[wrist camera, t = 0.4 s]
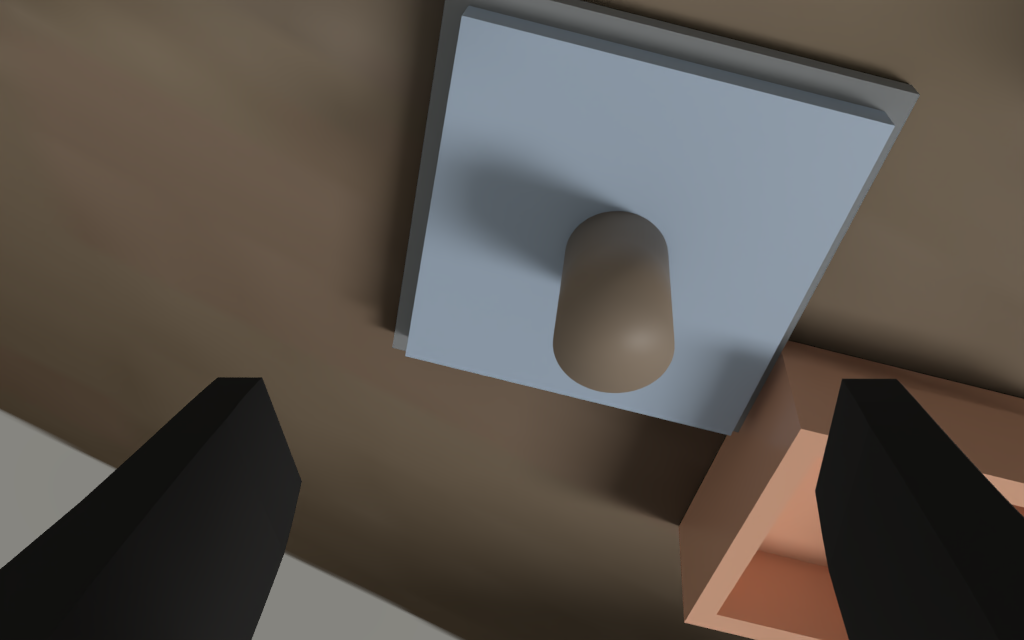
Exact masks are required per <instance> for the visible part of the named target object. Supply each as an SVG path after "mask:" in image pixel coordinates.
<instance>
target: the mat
mask: <svg viewBox="0 0 1024 640" xmlns="http://www.w3.org/2000/svg"><path fill="white" fill-rule="evenodd" d="M468 6H473V7H477V8H481V9H485V10H488V11H492V12H496V13H500V14H504V15H508V16H512V17H516V18H520V19H524V20H528V21H532V22H536V23H539V24H543V25H547V26H551V27H555V28H559V29H563V30H567V31H571V32H575V33H579V34H583V35H587V36H591V37H594V38H598V39H602V40H606V41H610V42H614V43H618V44H622V45H626V46H630V47H634V48H638V49H642V50H645V51H649V52H653V53H657V54H661V55H665V56H669V57H673V58H677V59H681V60H685V61H689V62H693V63H696V64H700V65H704V66H708V67H712V68H716V69H720V70H724V71H728V72H732V73H736V74H740V75H744V76H747V77H751V78H755V79H759V80H763V81H767V82H771V83H775V84H779V85H783V86H787V87H791V88H795V89H798V90H802V91H806V92H810V93H814V94H818V95H822V96H826V97H830V98H834V99H838V100H842V101H846V102H850V103H853V104H857V105H861V106H865V107H869V108H873V109H877V110H881V111H885V112H886V114H887V115H888V117H889V118H890V119H891V121H892V122H893V123H894V125H895V127H894V129H893V131H892V133H891V135H890V136H889V138H888V140H887V142H886V144H885V146H884V148H883V150H882V152H881V153H880V155H879V157H878V159H877V161H876V163H875V165H874V167H873V168H872V170H871V172H870V174H869V176H868V178H867V180H866V182H865V184H864V185H863V187H862V189H861V191H860V193H859V195H858V197H857V199H856V200H855V202H854V204H853V206H852V208H851V210H850V212H849V214H848V216H847V217H846V219H845V221H844V223H843V225H842V227H841V229H840V231H839V232H838V234H837V236H836V238H835V240H834V242H833V244H832V246H831V248H830V249H829V251H828V253H827V255H826V257H825V259H824V261H823V263H822V264H821V266H820V268H819V270H818V272H817V274H816V276H815V278H814V280H813V281H812V283H811V285H810V287H809V289H808V291H807V293H806V295H805V296H804V298H803V300H802V302H801V304H800V306H799V308H798V310H797V312H796V313H795V315H794V317H793V319H792V321H791V323H790V325H789V327H788V328H787V330H786V332H785V334H784V336H783V338H782V340H781V342H780V344H779V345H778V347H777V349H776V351H775V353H774V355H773V357H772V359H771V360H770V362H769V364H768V366H767V368H766V370H765V372H764V374H763V376H762V377H761V379H760V381H759V383H758V385H757V387H756V389H755V391H754V392H753V394H752V396H751V398H750V400H749V402H748V404H747V406H746V408H745V409H744V411H743V413H742V415H741V417H740V419H739V421H738V423H737V424H736V426H735V428H734V430H733V431H734V432H739V430H740V428H741V427H742V425H743V423H744V421H745V419H746V417H747V415H748V414H749V412H750V410H751V408H752V406H753V404H754V402H755V401H756V399H757V397H758V395H759V393H760V391H761V389H762V387H763V386H764V384H765V382H766V380H767V378H768V376H769V374H770V373H771V371H772V369H773V367H774V365H775V363H776V361H777V360H778V358H779V356H780V354H781V352H782V350H783V348H784V347H785V345H786V343H787V341H788V339H789V337H790V335H791V334H792V332H793V330H794V328H795V326H796V324H797V322H798V321H799V319H800V317H801V315H802V313H803V311H804V309H805V308H806V306H807V304H808V302H809V300H810V298H811V296H812V294H813V293H814V291H815V289H816V287H817V285H818V283H819V281H820V280H821V278H822V276H823V274H824V272H825V270H826V268H827V267H828V265H829V263H830V261H831V259H832V257H833V255H834V254H835V252H836V250H837V248H838V246H839V244H840V242H841V241H842V239H843V237H844V235H845V233H846V231H847V229H848V228H849V226H850V224H851V222H852V220H853V218H854V216H855V215H856V213H857V211H858V209H859V207H860V205H861V203H862V202H863V200H864V198H865V196H866V194H867V192H868V190H869V188H870V187H871V185H872V183H873V181H874V179H875V177H876V175H877V174H878V172H879V170H880V168H881V166H882V164H883V162H884V161H885V159H886V157H887V155H888V153H889V151H890V149H891V148H892V146H893V144H894V142H895V140H896V138H897V136H898V135H899V133H900V131H901V129H902V127H903V125H904V123H905V122H906V120H907V118H908V116H909V114H910V112H911V110H912V109H913V107H914V105H915V103H916V101H917V99H918V97H919V95H920V94H919V93H918V92H917V91H916V90H915V88H914V87H913V86H912V85H909V84H906V83H902V82H898V81H894V80H890V79H886V78H882V77H878V76H874V75H870V74H866V73H863V72H859V71H855V70H851V69H847V68H843V67H839V66H835V65H831V64H827V63H823V62H820V61H816V60H812V59H808V58H804V57H800V56H796V55H792V54H788V53H784V52H780V51H777V50H773V49H769V48H765V47H761V46H757V45H753V44H749V43H745V42H741V41H737V40H733V39H730V38H726V37H722V36H718V35H714V34H710V33H706V32H702V31H698V30H694V29H690V28H687V27H683V26H679V25H675V24H671V23H667V22H663V21H659V20H655V19H651V18H647V17H644V16H640V15H636V14H632V13H628V12H624V11H620V10H616V9H612V8H608V7H604V6H601V5H597V4H593V3H589V2H585V1H581V0H445V4H444V11H443V18H442V24H441V31H440V37H439V44H438V51H437V57H436V64H435V70H434V77H433V83H432V90H431V97H430V103H429V110H428V116H427V123H426V130H425V136H424V143H423V149H422V156H421V163H420V169H419V176H418V182H417V189H416V196H415V202H414V209H413V215H412V222H411V229H410V235H409V242H408V248H407V255H406V262H405V268H404V275H403V281H402V288H401V295H400V301H399V308H398V314H397V321H396V328H395V334H394V341H393V347H392V348H396V349H400V350H404V351H406V349H407V343H408V337H409V331H410V325H411V319H412V313H413V307H414V301H415V295H416V289H417V283H418V277H419V271H420V265H421V259H422V253H423V247H424V241H425V235H426V229H427V223H428V217H429V211H430V204H431V198H432V192H433V186H434V180H435V174H436V168H437V162H438V156H439V150H440V144H441V138H442V132H443V126H444V120H445V114H446V108H447V102H448V96H449V90H450V84H451V78H452V72H453V66H454V60H455V54H456V48H457V42H458V36H459V29H460V23H461V17H462V15H463V13H464V12H465V10H466V9H467V7H468Z"/></svg>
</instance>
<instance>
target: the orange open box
mask: <svg viewBox="0 0 1024 640" xmlns="http://www.w3.org/2000/svg"><path fill="white" fill-rule="evenodd" d="M842 379H897V380H898V381H899V382H900V383H901V384H902V385H903V386H904V387H905V388H906V389H907V390H908V391H909V393H910V394H911V395H912V396H913V397H914V398H915V399H916V400H917V401H918V403H919V404H920V405H921V406H922V407H923V408H924V409H925V410H926V412H927V413H928V414H929V415H930V416H931V417H932V418H933V419H934V420H935V422H936V423H937V424H938V425H939V426H940V427H941V428H942V429H943V431H944V432H945V433H946V434H947V435H948V436H949V437H950V438H951V440H952V441H953V442H954V443H955V444H956V445H957V446H958V447H959V448H960V449H961V451H962V452H963V453H964V454H965V455H966V456H967V457H968V458H969V459H970V460H971V462H972V463H973V464H974V465H975V466H976V467H977V468H978V469H979V470H980V471H981V473H982V474H983V475H984V476H985V477H986V478H987V479H988V480H989V481H990V482H991V483H992V484H993V485H994V486H995V488H996V489H997V490H998V491H999V492H1000V493H1001V494H1002V495H1003V496H1004V497H1005V498H1006V499H1007V500H1008V501H1009V502H1010V503H1011V504H1012V505H1013V506H1014V507H1015V508H1016V509H1017V510H1018V511H1019V512H1020V514H1021V515H1022V516H1023V517H1024V399H1022V398H1018V397H1014V396H1010V395H1006V394H1002V393H998V392H994V391H990V390H986V389H982V388H978V387H974V386H970V385H966V384H962V383H958V382H954V381H950V380H946V379H942V378H937V377H933V376H929V375H925V374H921V373H917V372H913V371H909V370H905V369H901V368H897V367H893V366H889V365H885V364H881V363H877V362H873V361H869V360H865V359H861V358H857V357H853V356H849V355H845V354H841V353H837V352H833V351H829V350H825V349H821V348H817V347H813V346H809V345H804V344H800V343H796V342H792V341H787V343H786V345H785V347H784V348H783V350H782V352H781V354H780V356H779V358H778V360H777V361H776V363H775V365H774V367H773V369H772V371H771V373H770V374H769V376H768V378H767V380H766V382H765V384H764V386H763V387H762V389H761V391H760V393H759V395H758V397H757V399H756V401H755V402H754V404H753V406H752V408H751V410H750V412H749V414H748V415H747V417H746V419H745V421H744V423H743V425H742V427H741V428H740V430H739V432H734V431H733V432H732V434H731V436H730V435H727V436H726V438H725V440H724V442H723V444H722V446H721V448H720V449H719V451H718V453H717V455H716V457H715V459H714V461H713V463H712V465H711V467H710V468H709V470H708V472H707V474H706V476H705V478H704V480H703V482H702V484H701V486H700V487H699V489H698V491H697V493H696V495H695V497H694V499H693V501H692V503H691V504H690V506H689V508H688V510H687V512H686V514H685V516H684V518H683V520H682V522H681V523H680V525H679V542H680V559H681V576H682V593H683V610H684V623H689V624H693V625H697V626H701V627H705V628H709V629H714V630H718V631H722V632H726V633H730V634H734V635H739V636H743V637H747V638H751V639H755V640H849V639H848V635H847V632H846V629H845V625H844V622H843V618H842V615H841V612H840V608H839V605H838V601H837V598H836V595H835V591H834V588H833V584H832V581H831V577H830V574H829V570H828V565H827V559H826V554H825V549H824V543H823V538H822V532H821V526H820V519H819V513H818V507H817V501H816V494H815V489H816V485H817V481H818V476H819V472H820V468H821V464H822V460H823V456H824V451H825V447H826V443H827V439H828V435H829V431H830V427H831V422H832V418H833V414H834V410H835V406H836V402H837V398H838V393H839V389H840V385H841V381H842Z"/></svg>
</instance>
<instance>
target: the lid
mask: <svg viewBox="0 0 1024 640" xmlns="http://www.w3.org/2000/svg"><path fill="white" fill-rule="evenodd" d="M894 127H895V125H894V123H893V122H892V121H891V119H890V118H889V117H888V115H887V114H886V112H885V111H881V110H877V109H873V108H869V107H865V106H861V105H857V104H853V103H850V102H846V101H842V100H838V99H834V98H830V97H826V96H822V95H818V94H814V93H810V92H806V91H802V90H798V89H795V88H791V87H787V86H783V85H779V84H775V83H771V82H767V81H763V80H759V79H755V78H751V77H747V76H744V75H740V74H736V73H732V72H728V71H724V70H720V69H716V68H712V67H708V66H704V65H700V64H696V63H693V62H689V61H685V60H681V59H677V58H673V57H669V56H665V55H661V54H657V53H653V52H649V51H645V50H642V49H638V48H634V47H630V46H626V45H622V44H618V43H614V42H610V41H606V40H602V39H598V38H594V37H591V36H587V35H583V34H579V33H575V32H571V31H567V30H563V29H559V28H555V27H551V26H547V25H543V24H539V23H536V22H532V21H528V20H524V19H520V18H516V17H512V16H508V15H504V14H500V13H496V12H492V11H488V10H485V9H481V8H477V7H473V6H468V7H467V9H466V10H465V12H464V13H463V15H462V17H461V23H460V29H459V36H458V42H457V48H456V54H455V60H454V66H453V72H452V78H451V84H450V90H449V96H448V102H447V108H446V114H445V120H444V126H443V132H442V138H441V144H440V150H439V156H438V162H437V168H436V174H435V180H434V186H433V192H432V198H431V204H430V211H429V217H428V223H427V229H426V235H425V241H424V247H423V253H422V259H421V265H420V271H419V277H418V283H417V289H416V295H415V301H414V307H413V313H412V319H411V325H410V331H409V337H408V343H407V349H406V355H405V356H407V357H412V358H416V359H420V360H424V361H428V362H432V363H436V364H440V365H444V366H448V367H452V368H456V369H460V370H465V371H469V372H473V373H477V374H481V375H485V376H489V377H493V378H497V379H501V380H505V381H509V382H513V383H518V384H522V385H526V386H530V387H534V388H538V389H542V390H546V391H550V392H554V393H558V394H562V395H566V396H571V397H575V398H579V399H583V400H587V401H591V402H595V403H599V404H603V405H607V406H611V407H615V408H620V409H624V410H628V411H632V412H636V413H640V414H644V415H648V416H652V417H656V418H660V419H664V420H668V421H673V422H677V423H681V424H685V425H689V426H693V427H697V428H701V429H705V430H709V431H713V432H717V433H721V434H726V435H730V436H731V434H732V432H733V430H734V428H735V426H736V424H737V423H738V421H739V419H740V417H741V415H742V413H743V411H744V409H745V408H746V406H747V404H748V402H749V400H750V398H751V396H752V394H753V392H754V391H755V389H756V387H757V385H758V383H759V381H760V379H761V377H762V376H763V374H764V372H765V370H766V368H767V366H768V364H769V362H770V360H771V359H772V357H773V355H774V353H775V351H776V349H777V347H778V345H779V344H780V342H781V340H782V338H783V336H784V334H785V332H786V330H787V328H788V327H789V325H790V323H791V321H792V319H793V317H794V315H795V313H796V312H797V310H798V308H799V306H800V304H801V302H802V300H803V298H804V296H805V295H806V293H807V291H808V289H809V287H810V285H811V283H812V281H813V280H814V278H815V276H816V274H817V272H818V270H819V268H820V266H821V264H822V263H823V261H824V259H825V257H826V255H827V253H828V251H829V249H830V248H831V246H832V244H833V242H834V240H835V238H836V236H837V234H838V232H839V231H840V229H841V227H842V225H843V223H844V221H845V219H846V217H847V216H848V214H849V212H850V210H851V208H852V206H853V204H854V202H855V200H856V199H857V197H858V195H859V193H860V191H861V189H862V187H863V185H864V184H865V182H866V180H867V178H868V176H869V174H870V172H871V170H872V168H873V167H874V165H875V163H876V161H877V159H878V157H879V155H880V153H881V152H882V150H883V148H884V146H885V144H886V142H887V140H888V138H889V136H890V135H891V133H892V131H893V129H894Z"/></svg>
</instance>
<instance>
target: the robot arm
mask: <svg viewBox="0 0 1024 640" xmlns="http://www.w3.org/2000/svg"><path fill="white" fill-rule="evenodd" d="M301 482H302V481H301V478H300V476H299V473H298V471H297V468H296V465H295V463H294V460H293V457H292V455H291V452H290V450H289V447H288V444H287V442H286V439H285V436H284V434H283V431H282V429H281V426H280V423H279V421H278V418H277V415H276V413H275V410H274V408H273V405H272V402H271V400H270V397H269V395H268V392H267V389H266V387H265V384H264V381H263V379H262V378H217V379H216V380H214V381H213V382H212V383H211V384H210V385H209V386H207V387H206V388H205V389H204V390H203V391H202V392H200V393H199V394H198V395H197V396H196V397H195V398H194V399H193V400H192V401H190V402H189V403H188V404H187V405H186V406H185V407H184V408H183V409H182V410H181V411H180V412H178V413H177V414H176V415H175V416H174V417H173V418H172V419H171V420H170V421H169V422H168V423H167V424H165V425H164V426H163V427H162V428H161V429H160V430H159V431H158V432H157V433H156V434H155V435H154V436H153V437H151V438H150V439H149V440H148V441H147V442H146V443H145V444H144V445H143V446H142V447H141V448H140V449H138V450H137V451H136V452H135V453H134V454H133V455H132V456H131V457H130V458H129V459H127V460H126V461H125V462H124V463H123V464H122V465H121V466H120V467H119V468H117V469H116V470H115V471H114V472H113V473H112V474H111V475H110V476H109V477H108V478H106V479H105V480H104V481H103V482H102V483H101V484H100V485H99V486H98V487H96V489H94V490H93V491H92V492H91V493H90V494H89V495H88V496H87V497H85V498H84V499H83V500H82V501H81V502H80V503H79V504H77V505H76V506H75V507H74V508H73V509H71V510H70V511H69V512H68V513H67V514H65V515H64V516H63V517H62V518H61V519H60V520H58V521H57V522H56V523H55V524H54V525H52V526H51V527H50V528H49V529H48V530H46V531H45V532H44V533H43V534H42V535H41V536H39V537H38V538H37V539H36V540H35V541H33V542H32V543H31V544H30V545H29V546H28V547H26V548H25V549H24V550H23V551H21V552H20V553H19V554H18V555H17V556H16V557H14V558H13V559H12V560H11V561H10V562H8V563H7V564H6V565H5V566H4V567H2V568H1V569H0V640H251V639H252V637H253V634H254V632H255V629H256V626H257V624H258V621H259V619H260V616H261V613H262V611H263V608H264V606H265V603H266V600H267V598H268V595H269V593H270V590H271V587H272V585H273V582H274V579H275V577H276V574H277V571H278V568H279V566H280V563H281V561H282V558H283V555H284V552H285V548H286V544H287V540H288V537H289V533H290V529H291V525H292V521H293V517H294V513H295V508H296V504H297V499H298V495H299V491H300V486H301ZM815 494H816V501H817V507H818V513H819V519H820V526H821V532H822V538H823V543H824V549H825V554H826V559H827V565H828V570H829V574H830V577H831V581H832V584H833V588H834V591H835V595H836V598H837V601H838V605H839V608H840V612H841V615H842V618H843V622H844V625H845V629H846V632H847V635H848V639H849V640H1024V517H1023V516H1022V515H1021V514H1020V512H1019V511H1018V510H1017V509H1016V508H1015V507H1014V506H1013V505H1012V504H1011V503H1010V502H1009V501H1008V500H1007V499H1006V498H1005V497H1004V496H1003V495H1002V494H1001V493H1000V492H999V491H998V490H997V489H996V488H995V486H994V485H993V484H992V483H991V482H990V481H989V480H988V479H987V478H986V477H985V476H984V475H983V474H982V473H981V471H980V470H979V469H978V468H977V467H976V466H975V465H974V464H973V463H972V462H971V460H970V459H969V458H968V457H967V456H966V455H965V454H964V453H963V452H962V451H961V449H960V448H959V447H958V446H957V445H956V444H955V443H954V442H953V441H952V440H951V438H950V437H949V436H948V435H947V434H946V433H945V432H944V431H943V429H942V428H941V427H940V426H939V425H938V424H937V423H936V422H935V420H934V419H933V418H932V417H931V416H930V415H929V414H928V413H927V412H926V410H925V409H924V408H923V407H922V406H921V405H920V404H919V403H918V401H917V400H916V399H915V398H914V397H913V396H912V395H911V394H910V393H909V391H908V390H907V389H906V388H905V387H904V386H903V385H902V384H901V383H900V382H899V381H898V380H897V379H842V381H841V385H840V389H839V393H838V398H837V402H836V406H835V410H834V414H833V418H832V422H831V427H830V431H829V435H828V439H827V443H826V447H825V451H824V456H823V460H822V464H821V468H820V472H819V476H818V481H817V485H816V489H815Z"/></svg>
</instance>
